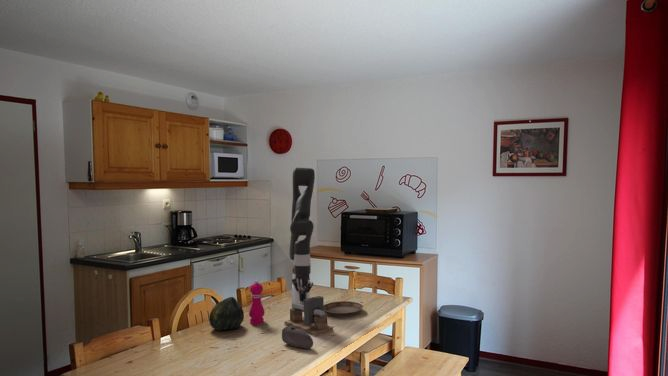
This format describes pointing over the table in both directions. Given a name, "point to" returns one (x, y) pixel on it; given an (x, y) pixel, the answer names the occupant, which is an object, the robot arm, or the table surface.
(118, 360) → the table surface
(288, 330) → the perforated stone tool
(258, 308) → the pepper mill
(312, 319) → the collar
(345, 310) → the plant saucer
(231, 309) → the squash
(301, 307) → the pipe
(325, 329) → the pipe stand
